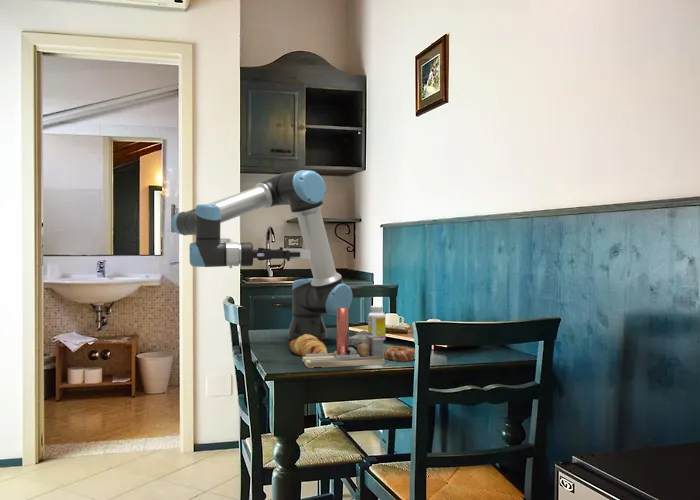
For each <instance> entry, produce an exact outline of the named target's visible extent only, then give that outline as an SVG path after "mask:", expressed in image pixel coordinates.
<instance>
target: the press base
mask: <svg viewBox="0 0 700 500" xmlns="http://www.w3.org/2000/svg"><path fill="white" fill-rule="evenodd" d="M356 354H357V355H358V357H353V358H336V357H335V356H334V352H329V353H328V352H327V353H323V354H306V356H302V363H303V362H304V363H303V364H304V365H305V366H306V368H307V367H308V368H307V369H315V368H314V367H322V368H337V367H340V368H341V367H356V366H358V367H359V366H373V365H377V366H378V365H385V363H386V358H385V357H384V340H383V339H382V338H380V337H378V336H376V335H370V336H367V344H366V343H361V344H359V345H358V347H357V348H356Z"/></svg>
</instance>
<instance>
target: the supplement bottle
mask: <svg viewBox="0 0 700 500" xmlns="http://www.w3.org/2000/svg"><path fill="white" fill-rule="evenodd" d="M383 310H384V306H383V305H371V306H370V312H369V313H368V315H367V327H368V328H367V331H369V332H371V333H372V334H373V335H376V336H378V337H380V338H382V339H383V341H386V336H387V335H386V332H387V331H386V328H387V326H386V314H385V313H384V311H383Z"/></svg>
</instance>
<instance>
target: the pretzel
mask: <svg viewBox="0 0 700 500" xmlns="http://www.w3.org/2000/svg"><path fill="white" fill-rule="evenodd" d="M415 349H416V348H414V347H409V346H406V345H405V346H404V345H403V346H402V345H401V346H400V345H391V346H390V347H388V348H387V349H385V351H383V358H384V359H385V360H386V359H387V361H395V362H412V361H415V360H414V354H415Z"/></svg>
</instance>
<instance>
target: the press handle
mask: <svg viewBox="0 0 700 500" xmlns="http://www.w3.org/2000/svg"><path fill="white" fill-rule="evenodd" d="M348 341H349V309H348V308H337V315H336V350H334V351H333V353H334V356H335V357H336V358H353V357H358V355H357V354H356V352H357V349H356V348H353V347H351V346H350V347H348Z"/></svg>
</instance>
